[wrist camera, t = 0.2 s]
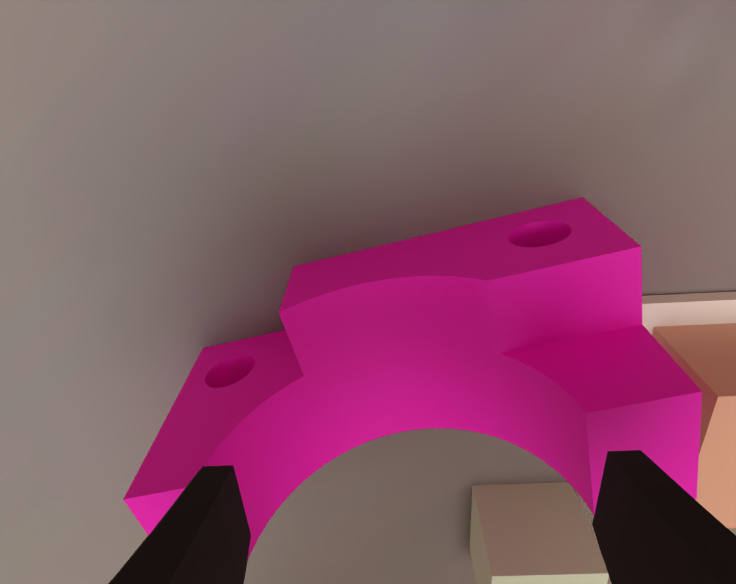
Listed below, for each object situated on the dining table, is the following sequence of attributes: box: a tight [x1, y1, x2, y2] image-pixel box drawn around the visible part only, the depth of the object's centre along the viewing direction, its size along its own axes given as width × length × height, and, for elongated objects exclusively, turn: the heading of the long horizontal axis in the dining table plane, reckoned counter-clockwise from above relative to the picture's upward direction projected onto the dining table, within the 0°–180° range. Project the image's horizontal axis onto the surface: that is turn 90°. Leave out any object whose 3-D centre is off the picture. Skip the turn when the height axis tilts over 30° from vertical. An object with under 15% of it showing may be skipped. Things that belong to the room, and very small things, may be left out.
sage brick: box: [469, 482, 609, 584], centre depth 23 cm, size 4×4×4 cm
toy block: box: [123, 197, 702, 561], centre depth 16 cm, size 15×6×8 cm, turn 105°
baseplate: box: [642, 291, 736, 335], centre depth 20 cm, size 8×8×1 cm
